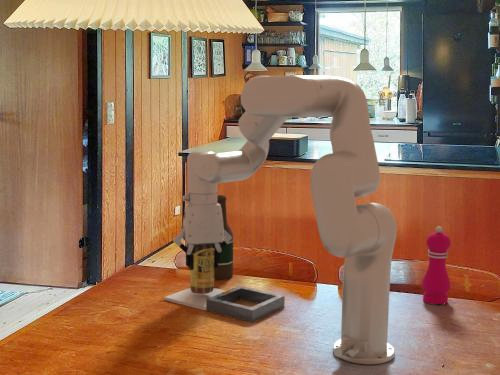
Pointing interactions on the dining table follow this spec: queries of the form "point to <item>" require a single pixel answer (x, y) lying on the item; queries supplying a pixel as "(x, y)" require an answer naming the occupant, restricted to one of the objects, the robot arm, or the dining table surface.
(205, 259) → the sauce bottle
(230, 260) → the beer bottle
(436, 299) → the pepper mill
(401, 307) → the dining table surface
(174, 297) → the plate
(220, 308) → the collar
